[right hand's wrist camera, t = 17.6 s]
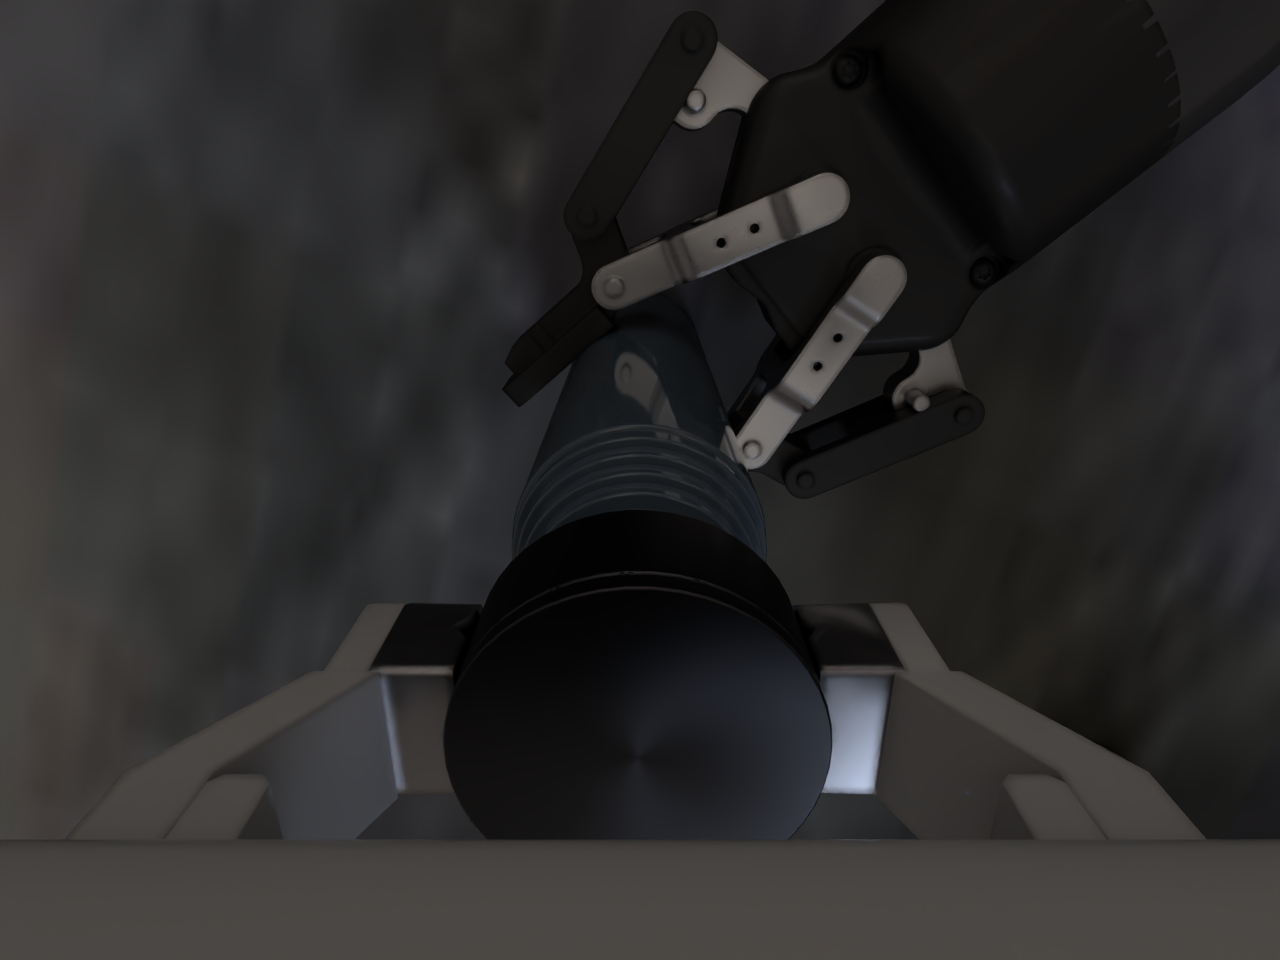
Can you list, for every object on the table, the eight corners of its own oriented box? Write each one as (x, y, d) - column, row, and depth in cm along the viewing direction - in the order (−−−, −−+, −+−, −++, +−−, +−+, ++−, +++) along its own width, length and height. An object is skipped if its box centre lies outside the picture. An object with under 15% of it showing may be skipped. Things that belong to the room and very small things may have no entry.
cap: (456, 515, 9) (411, 598, 8) (802, 498, 9) (841, 576, 7) (499, 783, 11) (471, 905, 9) (794, 770, 11) (826, 890, 9)
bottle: (723, 345, 28) (908, 713, 9) (645, 429, 30) (652, 918, 10) (635, 264, 27) (618, 475, 8) (558, 355, 29) (371, 738, 9)
